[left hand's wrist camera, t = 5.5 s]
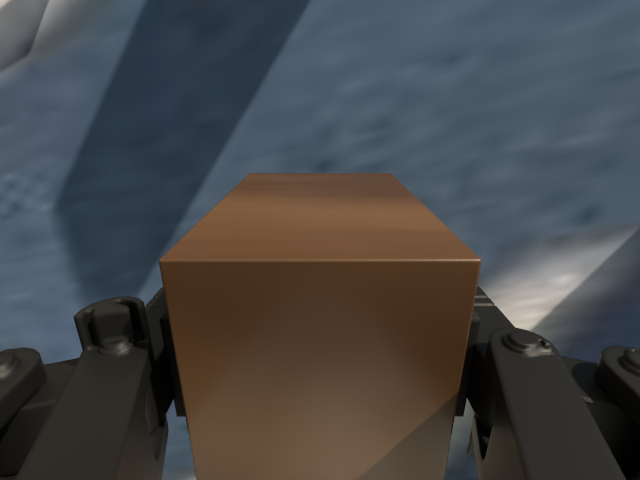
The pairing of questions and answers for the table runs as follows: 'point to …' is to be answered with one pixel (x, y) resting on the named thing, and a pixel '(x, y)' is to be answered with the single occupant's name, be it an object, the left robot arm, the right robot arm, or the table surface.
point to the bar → (320, 330)
